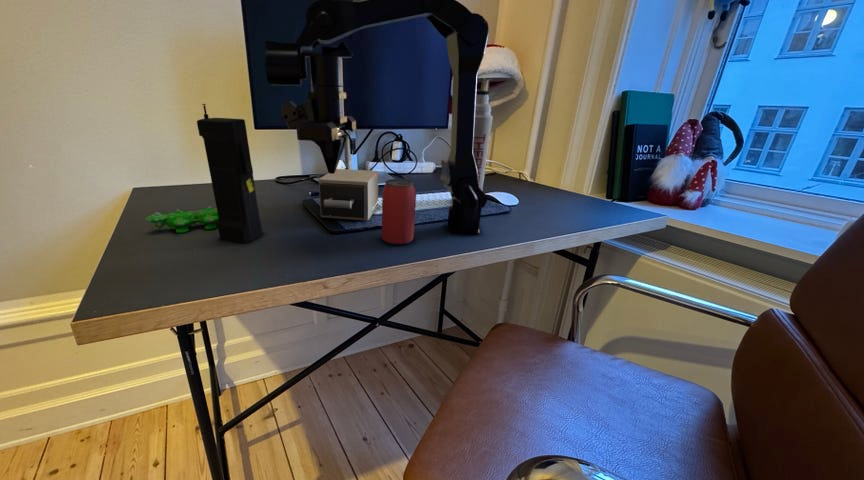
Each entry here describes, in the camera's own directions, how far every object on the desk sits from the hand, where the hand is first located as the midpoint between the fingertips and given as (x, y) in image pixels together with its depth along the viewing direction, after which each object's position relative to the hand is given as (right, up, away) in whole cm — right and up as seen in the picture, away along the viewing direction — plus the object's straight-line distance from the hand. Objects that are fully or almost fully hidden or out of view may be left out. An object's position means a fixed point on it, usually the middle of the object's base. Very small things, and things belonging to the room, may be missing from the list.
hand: (331, 173), depth 73 cm
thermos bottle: (+33, -1, +28) cm, 44 cm away
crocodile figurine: (-31, -10, +7) cm, 33 cm away
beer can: (+13, -13, +3) cm, 19 cm away
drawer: (+1, -5, +15) cm, 16 cm away
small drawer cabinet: (+2, -5, +19) cm, 20 cm away
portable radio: (-18, -13, +3) cm, 23 cm away
